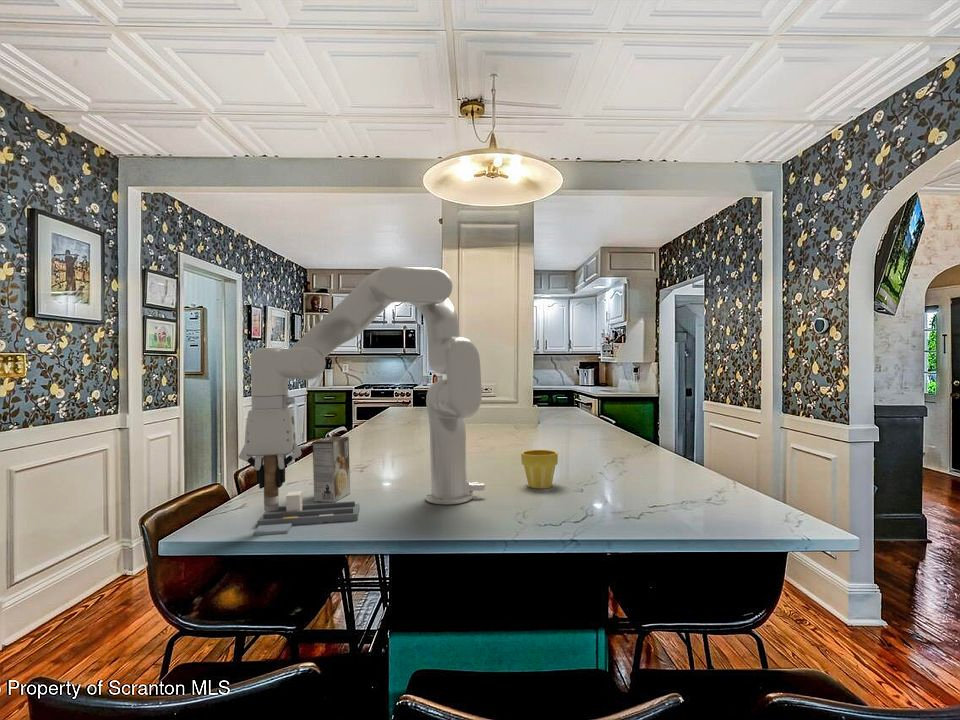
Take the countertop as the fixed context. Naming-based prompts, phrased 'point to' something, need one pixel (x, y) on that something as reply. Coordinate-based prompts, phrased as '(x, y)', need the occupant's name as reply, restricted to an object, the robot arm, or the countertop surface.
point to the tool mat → (272, 529)
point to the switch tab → (294, 501)
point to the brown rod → (270, 483)
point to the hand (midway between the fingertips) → (271, 485)
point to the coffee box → (331, 468)
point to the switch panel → (312, 514)
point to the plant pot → (539, 467)
